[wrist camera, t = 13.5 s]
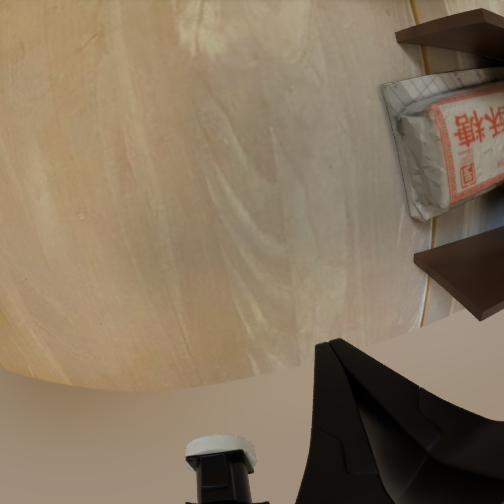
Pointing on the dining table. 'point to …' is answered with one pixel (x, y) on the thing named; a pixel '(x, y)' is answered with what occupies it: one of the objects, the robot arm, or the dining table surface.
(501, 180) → the packaged product
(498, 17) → the cubby shelf
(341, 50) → the dining table surface
